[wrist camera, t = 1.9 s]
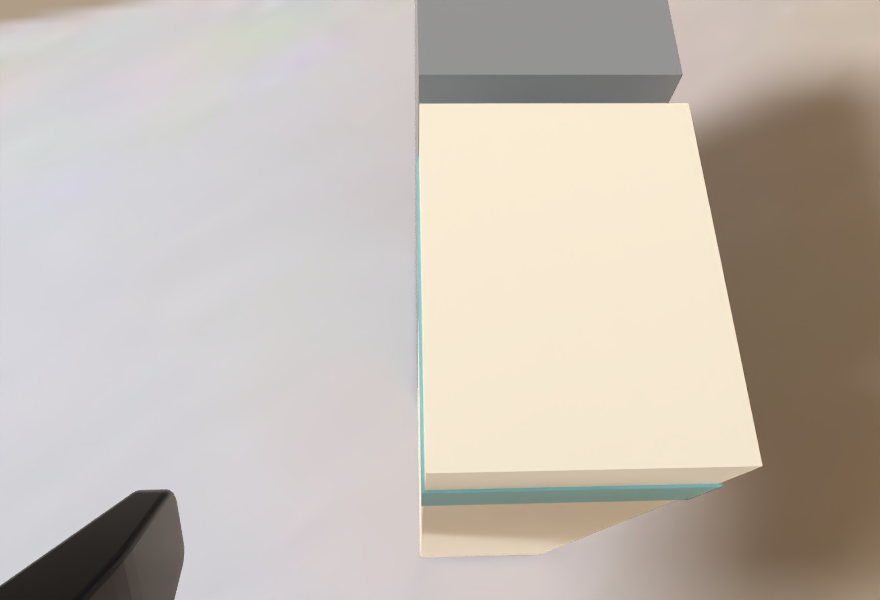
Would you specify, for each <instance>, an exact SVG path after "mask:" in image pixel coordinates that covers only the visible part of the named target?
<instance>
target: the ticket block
mask: <svg viewBox="0 0 880 600" xmlns="http://www.w3.org/2000/svg"><path fill="white" fill-rule="evenodd" d="M682 75H683V74H682V69H681V64H680V59H679V55H678V50H677V45H676V40H675V35H674V30H673V25H672V20H671V15H670V10H669V5H668V1H667V0H415V184H416V313H417V384H418V256H417V154H419V104H479V103H669V101H670V99H671V97H672V95H673V93H674V91H675V89H676V87H677V85H678V83H679V81H680V79H681V77H682Z"/></svg>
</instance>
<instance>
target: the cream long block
mask: <svg viewBox="0 0 880 600" xmlns="http://www.w3.org/2000/svg"><path fill="white" fill-rule="evenodd" d="M417 256H418V448H419V519H420V557H457V556H496V555H534V554H543V553H545V552H548V551H550V550H553V549H555V548H558V547H560V546H563V545H565V544H568V543H570V542H573V541H575V540H578V539H580V538H583V537H585V536H588V535H590V534H593V533H596V532H598V531H601V530H603V529H606V528H608V527H611V526H613V525H616V524H618V523H621V522H623V521H626V520H628V519H631V518H633V517H636V516H638V515H641V514H643V513H646V512H648V511H651V510H654V509H656V508H659V507H661V506H664V505H666V504H669V503H671V502H674V501H676V500H688V499H691V498H694V497H696V496H699V495H701V494H704V493H707V492H709V491H712V490H714V489H717V488H720V487H722V484H721V483H722V482H724V481H727V480H729V479H732V478H734V477H737V476H739V475H742V474H744V473H747V472H749V471H752V470H754V469H757V468H759V467H762V466H763V465H762V461H761V456H760V451H759V446H758V441H757V436H756V431H755V426H754V421H753V416H752V412H751V407H750V402H749V397H748V392H747V387H746V382H745V377H744V372H743V367H742V363H741V358H740V353H739V348H738V343H737V338H736V333H735V328H734V323H733V318H732V314H731V309H730V304H729V299H728V294H727V289H726V284H725V279H724V274H723V269H722V265H721V260H720V255H719V250H718V245H717V240H716V235H715V230H714V225H713V220H712V216H711V211H710V206H709V201H708V196H707V191H706V186H705V181H704V176H703V171H702V167H701V162H700V157H699V152H698V147H697V142H696V137H695V132H694V127H693V122H692V118H691V113H690V108H689V103H479V104H419V154H417Z"/></svg>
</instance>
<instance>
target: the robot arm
mask: <svg viewBox="0 0 880 600" xmlns="http://www.w3.org/2000/svg"><path fill="white" fill-rule="evenodd" d="M183 560H184V542H183V536H182V530H181V524H180V518H179V512H178V506H177V501H176V498H175V496H174V493H173V492H171V491H170V490H167V489H165V490H138V491H135V492H134V493H132V494H130V495H129V496H128V497H126V498H125V499H123V500H122V501H120V502H119V503H118V504H116V505H115V506H113V507H112V508H110V509H109V510H108V511H106V512H105V513H103V514H102V515H100V516H99V517H98V518H96V519H95V520H93V521H92V522H90V523H89V524H88V525H86V526H85V527H83V528H82V529H80V530H79V531H78V532H76V533H75V534H73V535H72V536H70V537H69V538H68V539H66V540H65V541H63V542H62V543H60V544H59V545H58V546H56V547H55V548H53V549H52V550H50V551H49V552H48V553H46V554H45V555H43V556H42V557H40V558H39V559H38V560H36V561H35V562H33V563H32V564H30V565H29V566H28V567H26V568H25V569H23V570H22V571H20V572H19V573H18V574H16V575H15V576H13V577H12V578H10V579H9V580H8V581H6V582H5V583H3V584H2V585H0V600H174V599H175V594H176V590H177V586H178V582H179V578H180V574H181V570H182V566H183Z"/></svg>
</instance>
